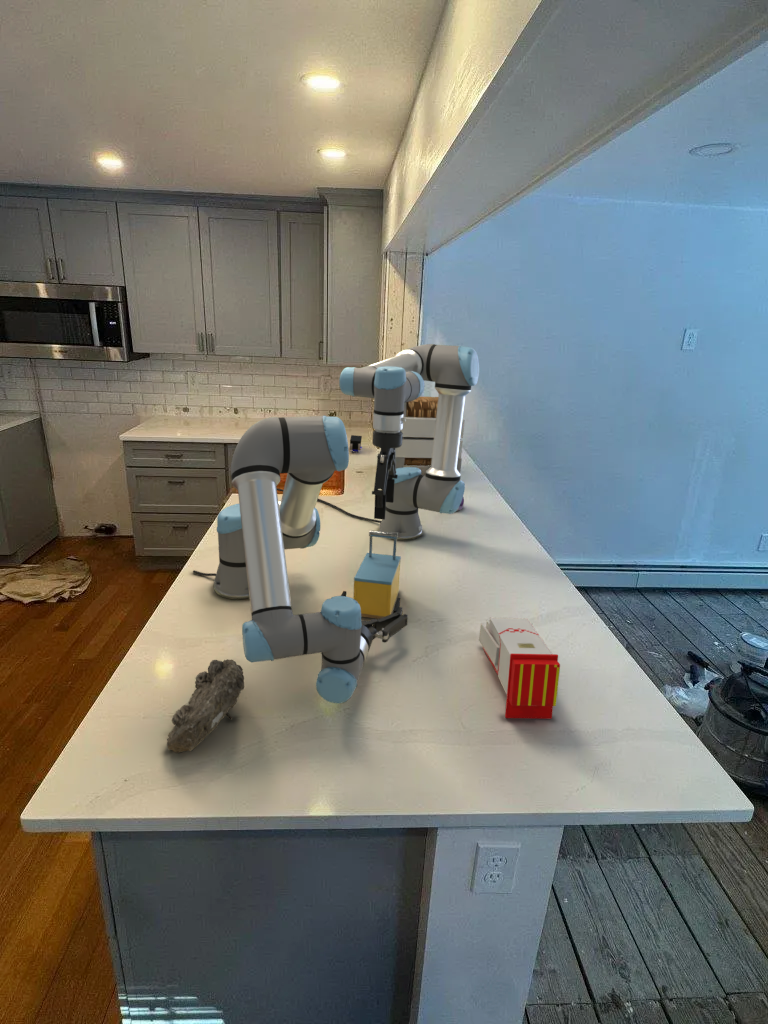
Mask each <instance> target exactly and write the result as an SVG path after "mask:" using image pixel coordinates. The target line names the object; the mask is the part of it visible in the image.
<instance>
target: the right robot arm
mask: <svg viewBox="0 0 768 1024" xmlns="http://www.w3.org/2000/svg"><path fill="white" fill-rule="evenodd" d="M479 377H480V361H479V356H478V353H477V351H476V350H475V348H473V347H470V346H464V345H451V344H450V345H449V344H436V343H435V344H434V343H427V344H419V345H415V346H412V347H409V348H406V349H403V350H400V351H399V352H398V353H397V354H396V355H395V356H393V357H389V358H386V359H384V360H381V361H378V362H375V363H372V364H369V365H365V366H363V367H356V366H353V367H352V366H351V367H349V366H347V367H344V368H343V369H342V371H341V372H340V374H339V379H338V380H339V383H338V384H339V385H338V386H339V389H340V391H341V393H342V394H344V396H352V397H358V398H366V399H367V398H368V399H373V412H372V413H373V415H372V429H373V431H372V445H373V446H374V447H376V448H379V449H380V451H379V453H377V455H376V459H377V460H376V469H375V471H376V472H375V478H374V486H373V490H372V491H371V495H374V508H373V509H374V513H373V514H374V515H373V518H368V517H364V516H360V515H356V514H353V513H350V512H348V511H346V510H344V509H343V508H341V507H339V506H337V505H335V504H333V503H330V502H328V501H326V500H323V499H321V498H318V499H317V502H320V503H323V504H325V505H328V506H329V507H332V508H333V509H336V510H338V511H340V512H342V513H343V514H345V515H348V516H349V517H352V518H354V519H360V520H363V521H368V522H371V523H372V522H373V523H377V524H379V527H378V531H382V532H392V533H398V538H397V541H410V540H415V539H418V538H420V537H421V536H422V535H423V524H421V518H420V515H419V510H424V511H430V512H435V513H439V514H447V515H452V514H454V513H456V512H457V511H456V510H457V509H458V508H459V506H460V504H461V501H462V498H463V497H464V495H465V490H466V487H465V486H466V483H465V482H464V481H463V480H462V479H461V474H460V473H459V472H458V471H457V461H458V453H459V444H460V439H461V438H460V436H461V428H462V420H463V419H464V412H465V411H464V410H465V403H466V397H467V395H468V394H470V393H471V392H472V387H474V386H476V385H477V384H478V381H479ZM425 382H432V383H434V389H435V391H436V392H437V393H438V396H437V397H438V405H437V415H436V424H435V433H434V442H433V452H432V461H431V465H430V466H429V468H427V469H426V470H425V474H422V470H421V468H419V467H416V466H406V467H405V466H404V467H403V468H397V469H396V454H395V448H399V447H401V446H402V436H403V433H402V432H401V430H402V429H403V422H405V421H406V419H405V418H403V414H404V403H405V402H409V401H412V400H413V401H414V400H415V399H416V398H418V397H422V395H423V393H424V390H425ZM276 488H277V492H282V493H283V491H284V488H283V489H282V488H278V487H276Z"/></svg>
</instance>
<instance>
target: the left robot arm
mask: <svg viewBox="0 0 768 1024" xmlns="http://www.w3.org/2000/svg"><path fill="white" fill-rule="evenodd" d="M349 454H350V449H349V441H348V435H347V429H346V426H345V423H344V421H343V420H342V419H341V418H340V417H338V416H327V415H319V416H317V415H316V416H315V415H313V416H287V417H285V416H282V417H279V416H270V417H266V418H263V419H260V420H259V421H256V422H255V423H254V424H252V425H251V426H250V427H248V428H247V430H245V432H244V433H243V435H241V437H240V439H239V440H238V443H237V445H236V447H235V448H234V451H233V455H232V458H231V464H230V479H231V484H232V485H231V486H232V487H233V488H234V489H236V490H237V494H238V503H234V504H231V505H228V506H226V507H225V508H223V509H221V511H219V513H218V514H217V517H216V521H217V522H216V523H217V524H216V525H217V526H216V533H217V541H218V543H217V544H218V557H219V558H218V561H219V562H218V565H217V570H216V573H213V572H212V573H209V572H208V573H207V572H206V573H205V572H201V571H198V570H192V573H193V574H197V575H200V576H204V577H214V580H213V591H214V593H215V594H217V595H218V596H219V597H221V598H226V599H229V600H247V599H249V607H250V615H251V619H250V620H247V621H244V622H243V624H242V625H241V634H242V647H243V654H244V658H245V660H247V662H250V663H259V662H260V663H261V662H267V661H268V662H269V661H270V662H274V661H276V660H282V659H287V658H294V657H299V656H307V655H313V654H314V655H315V654H321V667H320V670H319V671H318V673H317V677H316V681H315V688H316V691H317V693H318V695H319V696H320V697H321V698H322V699H323V700H324V701H326V702H329V703H330V704H331V703H332V704H342V703H345V702H347V701H349V700H350V699H351V698H352V696H353V694H354V692H355V690H356V689H357V687H358V682H359V679H360V676H361V673H362V671H363V668H364V666H365V665H364V664H365V662H366V659H367V657H368V654H369V651H370V649H371V646H372V643H373V641H374V640H375V639H381V642H382V643H386V644H387V642H388V641H389V640H390V638H391V637H392V636H393V635H396V633H398V632H400V631H402V630H403V629H404V628H405V627H407V626H408V620H409V619H408V618H409V615H408V614H407V613H404V614H403V610H404V609H403V607H402V606H401V597H397V599H396V602H395V605H394V608H393V611H392V614H390V615H388V616H385V617H383V618H380V619H376V618H371V619H370V620H364V619H363V620H362V617H361V608H360V605H359V604H358V602H357V601H356V600H354V598H352V597H350V596H347V590H343V591H342V593H341V595H336V596H335V595H334V596H331V597H330V598H326V599H325V600H323V602H322V604H321V609H320V611H315V612H309V613H301V614H299V613H298V614H294V613H293V605H292V597H291V590H290V582H289V575H288V567H287V559H286V550H295V549H300V550H301V549H307V548H311V547H313V546H316V544H317V543H318V541H319V539H320V533H321V518H320V517H321V516H320V514H319V510H318V509H317V507H316V505H317V502H318V501H317V499H319V496H320V493H321V491H322V487H323V484H325V483H326V482H328V481H329V480H330V479H331V478H332V477H333V475H334V473H335V472H336V471H337V472H341V471H345V470H347V469H348V466H349V462H350V455H349ZM281 474H286V478H285V482H284V487H283V490H284V491H283V492H282V496H281V500H279V496H278V490H277V488H278V487H277V486H278V485H279V484H280V482H281Z"/></svg>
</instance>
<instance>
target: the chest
mask: <svg viewBox="0 0 768 1024" xmlns="http://www.w3.org/2000/svg"><path fill="white" fill-rule="evenodd" d="M400 572H401V561H400V562H399V565H398V568H397V571H396V574H395V576H394V579H393V582H392V585H387V584H378V583H370V582H361V581H354V580H353V599H354V600H356V601H357V602H358V604H359V605H360V608H361V618H368V619H369V618H370V619H376V620H377V619H380V618H383V617H385V616H388V615H390V614H393V609H394V606H395V603H396V600H397V598H398V596H399V593H400V591H399V590H400V574H401V573H400Z"/></svg>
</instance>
